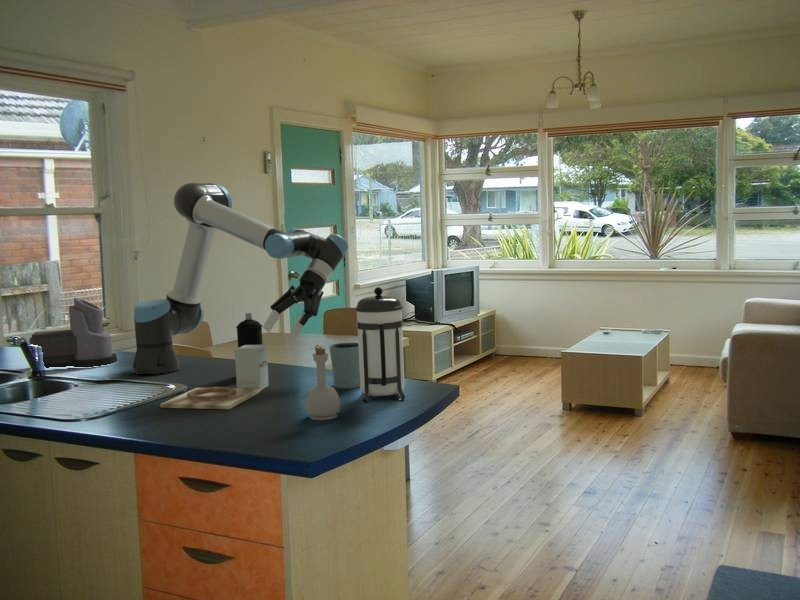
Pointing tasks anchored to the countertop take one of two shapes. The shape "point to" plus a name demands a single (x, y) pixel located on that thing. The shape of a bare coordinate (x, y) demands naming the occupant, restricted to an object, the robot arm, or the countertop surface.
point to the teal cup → (345, 365)
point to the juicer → (77, 340)
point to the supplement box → (251, 367)
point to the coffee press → (380, 346)
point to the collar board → (211, 398)
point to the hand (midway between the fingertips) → (279, 331)
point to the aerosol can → (249, 332)
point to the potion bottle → (322, 392)
